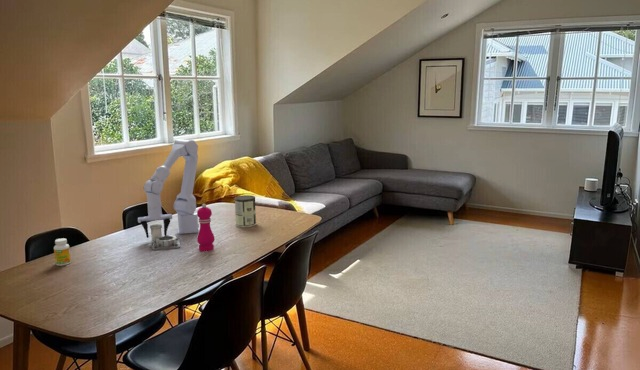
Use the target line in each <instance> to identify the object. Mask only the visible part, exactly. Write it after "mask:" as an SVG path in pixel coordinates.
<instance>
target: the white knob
mask: <svg viewBox="0 0 640 370" xmlns="http://www.w3.org/2000/svg"><path fill="white" fill-rule="evenodd" d="M162 228H163V226H162V224H160V223H154V224H150V226H149V229H150V233H151V235H150V236H151V242H153V243H154V241H156V238H158V237H160V236H163V235H162V233H163V232H162Z"/></svg>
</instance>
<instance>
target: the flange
mask: <svg viewBox="0 0 640 370" xmlns="http://www.w3.org/2000/svg"><path fill="white" fill-rule="evenodd" d="M180 242H181V239H180V238H178V237H177V236H176V235H173V234H172V235H166V236H165V235H162V236H160V237H158V238H156V241H154V242H153V245H152V251H160V250H168V249H170V250H172V249H180V248H181V243H180Z"/></svg>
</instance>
